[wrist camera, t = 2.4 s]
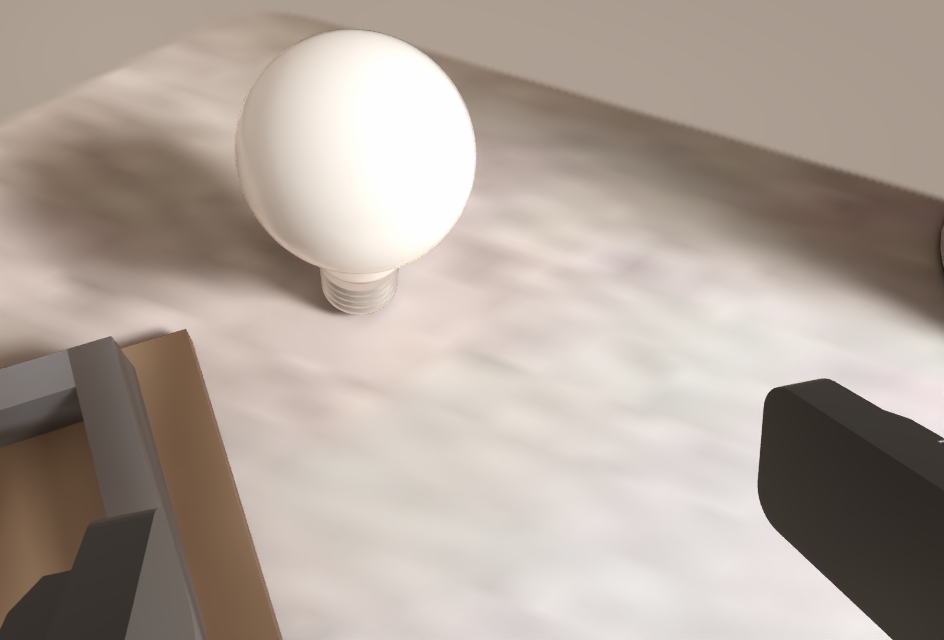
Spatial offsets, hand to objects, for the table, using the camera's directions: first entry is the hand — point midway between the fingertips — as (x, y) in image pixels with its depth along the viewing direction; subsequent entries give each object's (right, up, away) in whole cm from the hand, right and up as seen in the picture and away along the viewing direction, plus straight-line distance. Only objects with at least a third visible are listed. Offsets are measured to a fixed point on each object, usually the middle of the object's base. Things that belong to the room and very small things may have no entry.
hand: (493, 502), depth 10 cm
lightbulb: (-4, +3, +18) cm, 18 cm away
